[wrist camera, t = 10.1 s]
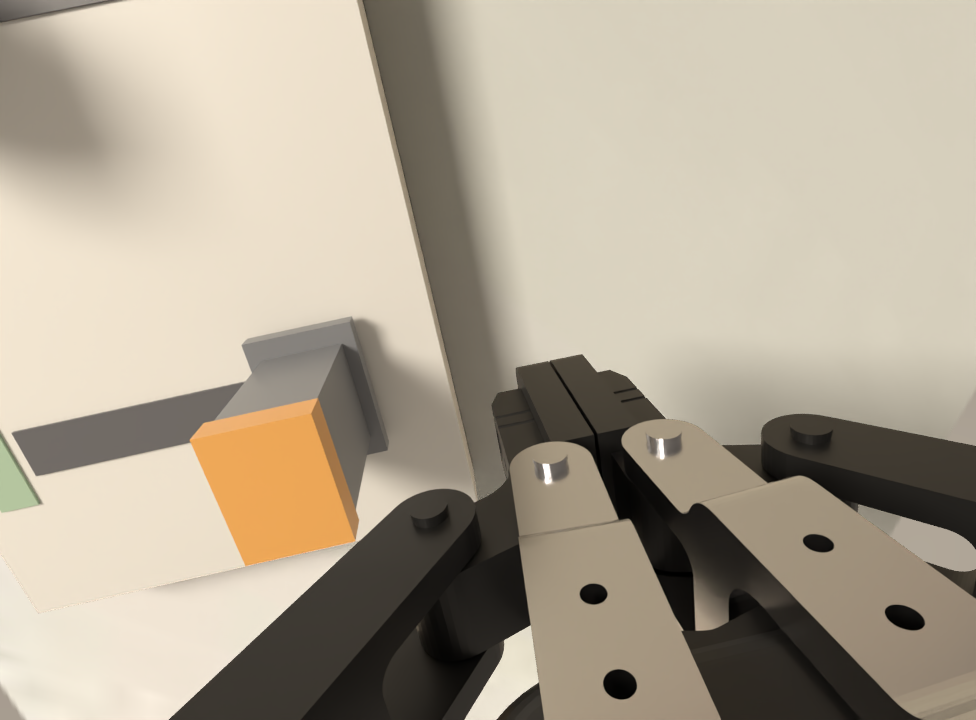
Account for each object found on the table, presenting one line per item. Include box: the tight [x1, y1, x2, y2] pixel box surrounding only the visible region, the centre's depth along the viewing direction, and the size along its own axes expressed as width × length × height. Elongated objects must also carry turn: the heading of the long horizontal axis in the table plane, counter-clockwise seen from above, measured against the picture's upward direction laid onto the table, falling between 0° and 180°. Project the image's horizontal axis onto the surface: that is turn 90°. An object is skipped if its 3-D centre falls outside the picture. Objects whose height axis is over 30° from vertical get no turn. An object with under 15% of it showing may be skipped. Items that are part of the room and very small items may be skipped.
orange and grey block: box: [190, 316, 389, 566], centre depth 15 cm, size 4×3×6 cm
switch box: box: [0, 0, 478, 613], centre depth 17 cm, size 24×16×3 cm, turn 11°
